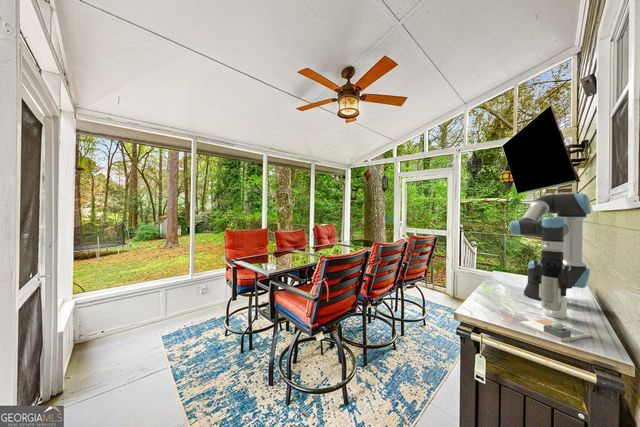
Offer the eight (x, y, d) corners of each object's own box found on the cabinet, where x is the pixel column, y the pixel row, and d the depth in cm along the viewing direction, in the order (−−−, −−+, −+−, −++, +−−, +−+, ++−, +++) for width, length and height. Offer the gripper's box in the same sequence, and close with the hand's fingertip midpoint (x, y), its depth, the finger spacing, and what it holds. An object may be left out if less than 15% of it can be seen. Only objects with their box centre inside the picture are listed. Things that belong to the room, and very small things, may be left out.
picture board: (546, 320, 118) (547, 313, 118) (591, 336, 103) (591, 328, 103) (519, 324, 113) (519, 316, 113) (561, 341, 98) (561, 332, 98)
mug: (540, 316, 123) (540, 295, 123) (545, 310, 131) (545, 290, 131) (564, 322, 117) (564, 300, 117) (567, 316, 124) (568, 295, 124)
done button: (554, 328, 104) (555, 321, 104) (565, 332, 101) (565, 325, 101) (549, 329, 103) (549, 322, 103) (559, 333, 100) (559, 325, 100)
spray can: (564, 312, 108) (565, 267, 108) (545, 309, 110) (546, 266, 111) (556, 307, 114) (557, 264, 114) (538, 304, 117) (539, 263, 117)
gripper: (523, 247, 121) (522, 293, 121) (573, 253, 102) (572, 308, 102) (534, 247, 123) (533, 292, 123) (585, 253, 104) (584, 307, 104)
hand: (551, 299), depth 112 cm, fingers closed on spray can, 7 cm apart
